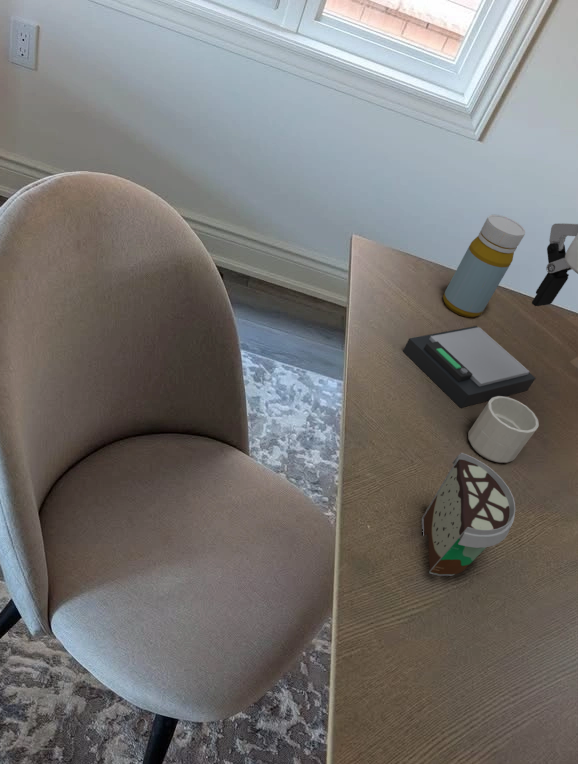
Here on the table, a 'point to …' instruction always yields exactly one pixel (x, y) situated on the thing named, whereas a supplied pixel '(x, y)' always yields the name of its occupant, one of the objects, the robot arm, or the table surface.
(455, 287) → the bottle
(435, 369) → the scale
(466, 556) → the food container
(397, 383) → the table surface
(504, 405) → the cup
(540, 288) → the robot arm
